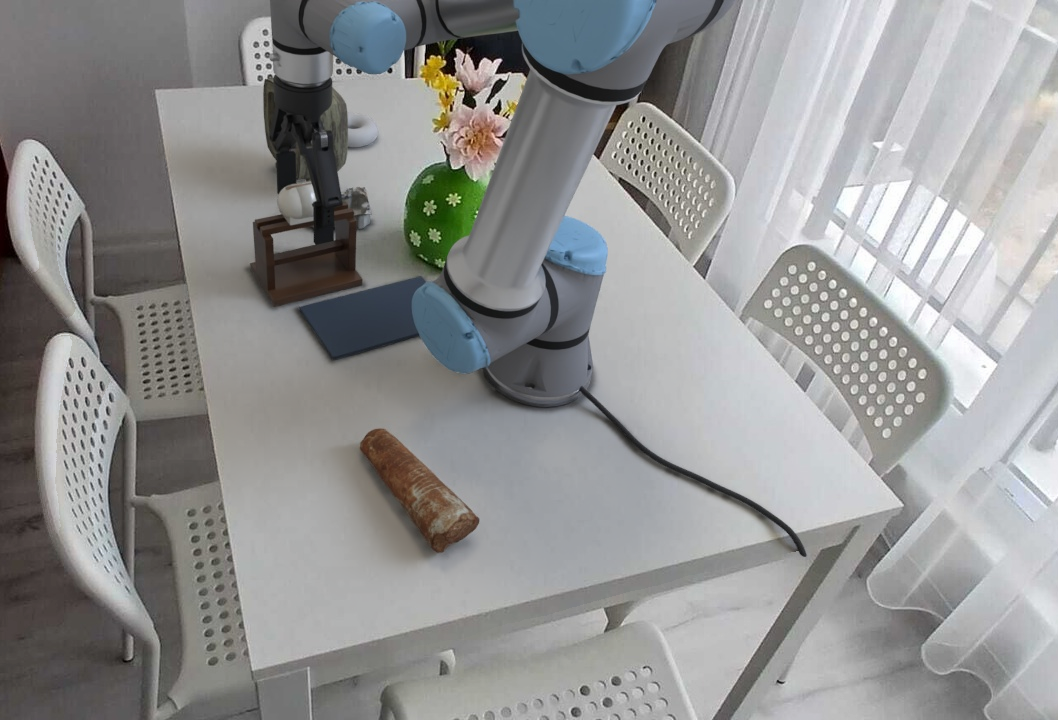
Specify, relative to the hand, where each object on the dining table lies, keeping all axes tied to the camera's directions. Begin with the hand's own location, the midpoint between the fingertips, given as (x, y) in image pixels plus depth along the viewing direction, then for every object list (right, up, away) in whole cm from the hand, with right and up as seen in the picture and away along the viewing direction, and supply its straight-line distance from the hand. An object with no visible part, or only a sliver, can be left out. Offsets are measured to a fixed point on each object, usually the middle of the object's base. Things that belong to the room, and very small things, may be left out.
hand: (304, 216), depth 129 cm
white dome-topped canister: (0, 0, 0) cm, 0 cm away
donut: (+2, +21, +41) cm, 47 cm away
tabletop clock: (-5, +10, +28) cm, 30 cm away
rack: (-1, -8, +7) cm, 11 cm away
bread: (+16, -37, -23) cm, 47 cm away
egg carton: (+2, +3, +20) cm, 20 cm away
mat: (+11, -14, +2) cm, 18 cm away
